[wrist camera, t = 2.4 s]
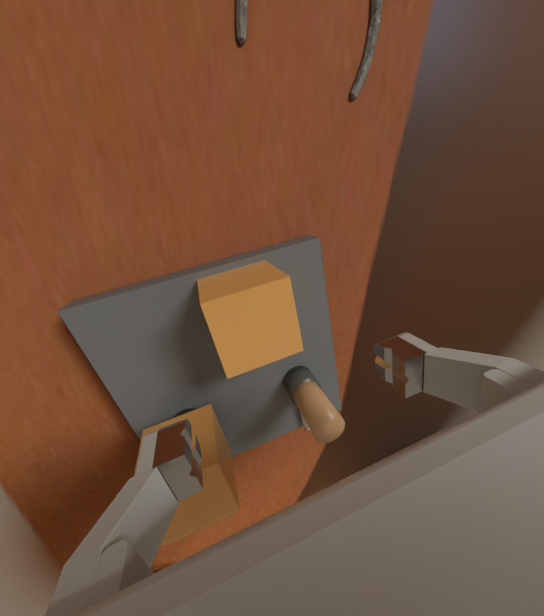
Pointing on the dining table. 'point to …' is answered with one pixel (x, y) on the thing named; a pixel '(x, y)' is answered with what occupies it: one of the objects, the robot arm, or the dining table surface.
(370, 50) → the pliers
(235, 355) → the tan wooden toy brick
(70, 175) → the dining table surface
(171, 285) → the board
